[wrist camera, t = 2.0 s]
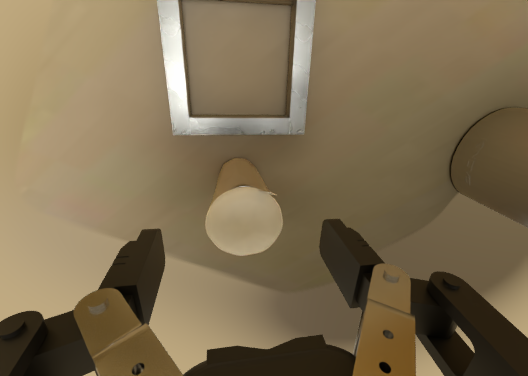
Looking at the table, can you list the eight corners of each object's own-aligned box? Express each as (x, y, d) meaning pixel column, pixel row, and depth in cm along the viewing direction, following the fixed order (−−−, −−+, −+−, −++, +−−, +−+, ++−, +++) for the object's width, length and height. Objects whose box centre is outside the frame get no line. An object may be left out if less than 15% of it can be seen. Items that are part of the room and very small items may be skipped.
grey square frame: (310, -16, 18) (317, -23, 16) (299, 130, 22) (304, 134, 20) (158, -28, 16) (152, -37, 15) (176, 131, 20) (173, 135, 19)
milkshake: (277, 154, 22) (313, 209, 13) (250, 205, 24) (266, 285, 15) (228, 132, 21) (231, 176, 12) (203, 187, 22) (189, 263, 13)
